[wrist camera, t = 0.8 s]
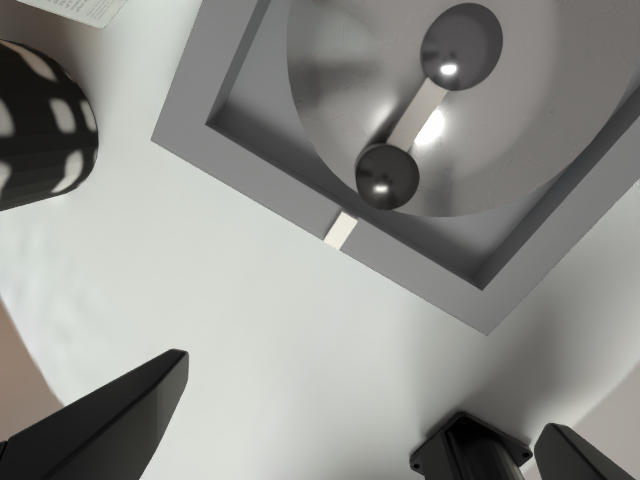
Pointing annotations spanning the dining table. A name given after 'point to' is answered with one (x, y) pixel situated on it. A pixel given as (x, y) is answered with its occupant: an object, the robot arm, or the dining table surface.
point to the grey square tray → (346, 204)
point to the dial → (456, 93)
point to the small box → (81, 9)
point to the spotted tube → (41, 128)
